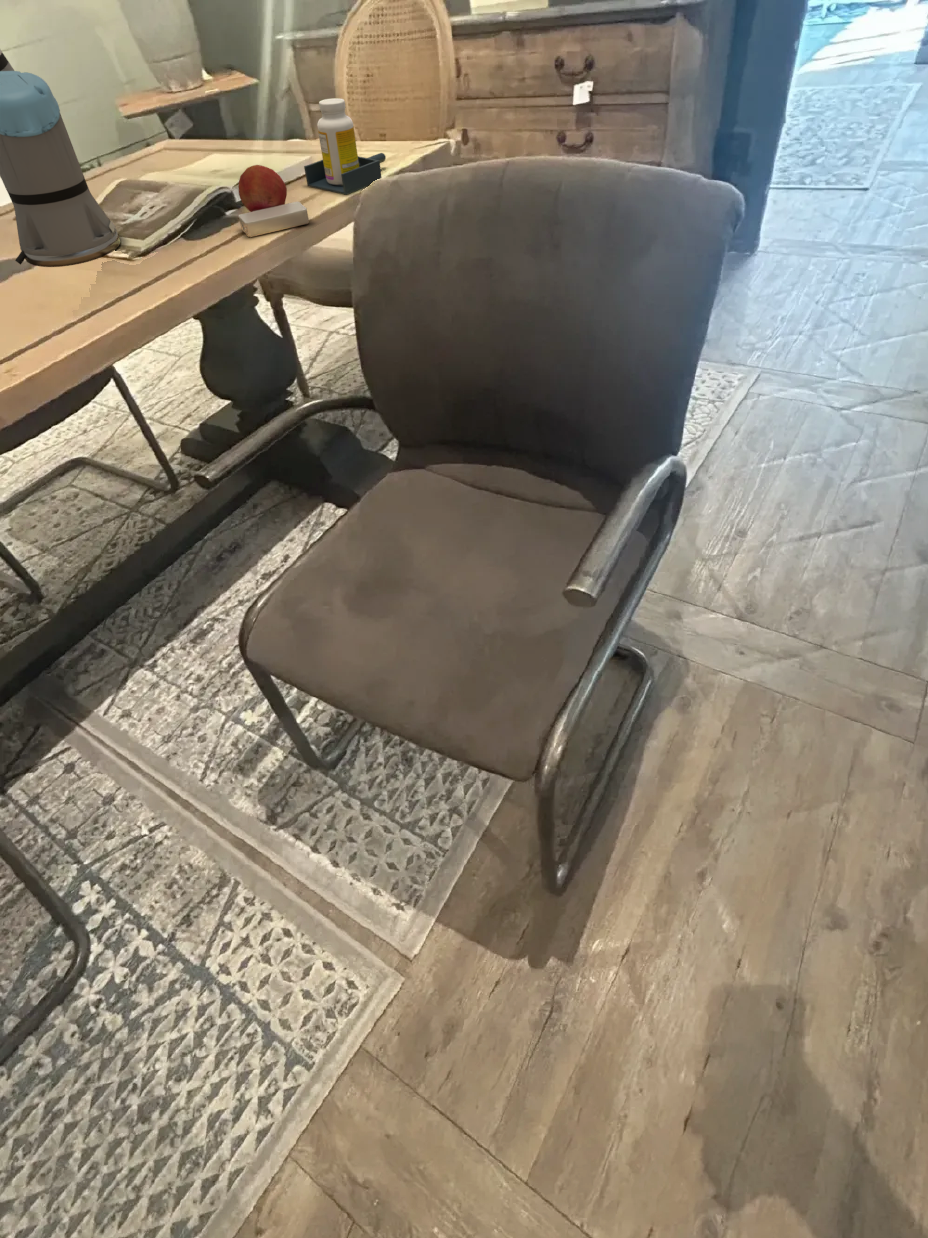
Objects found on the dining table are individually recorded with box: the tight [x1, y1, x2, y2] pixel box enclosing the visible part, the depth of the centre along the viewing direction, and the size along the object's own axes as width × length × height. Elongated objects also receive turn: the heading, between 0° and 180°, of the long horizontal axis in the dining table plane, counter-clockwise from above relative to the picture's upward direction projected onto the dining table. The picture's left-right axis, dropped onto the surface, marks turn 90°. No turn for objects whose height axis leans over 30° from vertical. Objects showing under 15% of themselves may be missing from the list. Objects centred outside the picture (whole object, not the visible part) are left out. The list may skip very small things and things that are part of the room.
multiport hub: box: [238, 201, 310, 238], centre depth 122 cm, size 4×11×2 cm, turn 119°
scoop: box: [303, 152, 387, 196], centre depth 139 cm, size 17×10×3 cm, turn 142°
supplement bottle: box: [316, 97, 359, 185], centre depth 134 cm, size 7×7×13 cm
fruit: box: [238, 164, 288, 212], centre depth 124 cm, size 8×8×10 cm
